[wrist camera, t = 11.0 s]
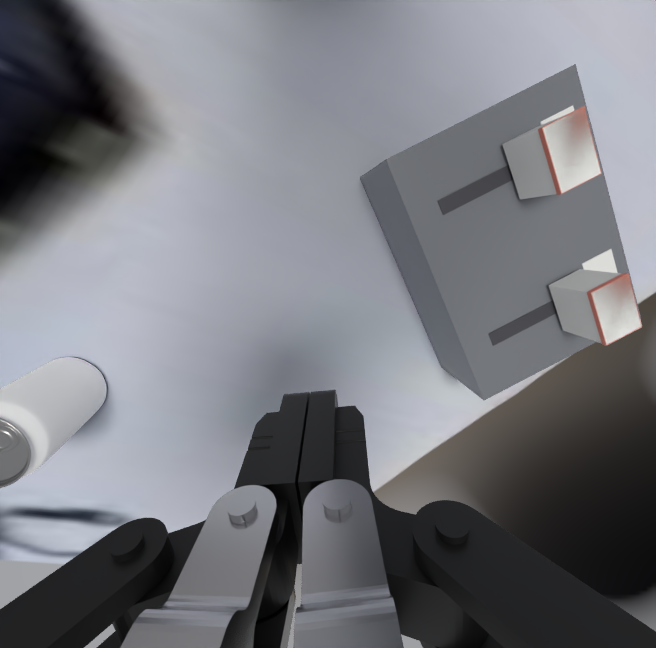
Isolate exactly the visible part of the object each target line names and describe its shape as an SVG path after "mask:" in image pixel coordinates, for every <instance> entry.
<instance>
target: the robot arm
mask: <svg viewBox="0 0 656 648" xmlns="http://www.w3.org/2000/svg"><path fill="white" fill-rule="evenodd" d="M297 564H302V587H301V606H300V607H297V609H296V613H295V623H294V647H293V648H404V647H403V642H402V637H401V634H402V635H405V636H408V637H411V638H414V639H416V640H419V641H420V642H421V644H422V646H423V648H656V632H655V631H654V630H652V629H651V628H649V627H648V626H647V625H645V624H644V623H642V622H641V621H639V620H638V619H636V618H634V617H633V616H632V615H630V614H629V613H627V612H626V611H624V610H623V609H621V608H620V607H618V606H617V605H615V604H614V603H613V602H611V601H610V600H608V599H607V598H605V597H603V596H602V595H601V594H599V593H598V592H596V591H595V590H593V589H592V588H590V587H588V586H587V585H586V584H584V583H583V582H581V581H580V580H578V579H577V578H576V577H574V576H573V575H571V574H570V573H568V572H566V571H565V570H564V569H562V568H561V567H559V566H558V565H556V564H555V563H553V562H552V561H550V560H549V559H547V558H546V557H544V556H543V555H541V554H540V553H538V552H537V551H536V550H534V549H533V548H531V547H530V546H528V545H526V544H525V543H524V542H522V541H521V540H519V539H518V538H516V537H515V536H513V535H512V534H510V533H509V532H507V531H506V530H504V529H503V528H501V527H500V526H499V525H497V524H496V523H494V522H493V521H491V520H489V519H488V518H487V517H485V516H483V515H482V514H481V513H479V512H478V511H476V510H475V509H473V508H471V507H470V506H468V505H465V504H463V503H460V502H455V501H448V500H442V501H435V502H432V503H429V504H427V505H425V506H424V507H422V508H421V509H420V510H419V511H418V512H417V514H416V515H414V514H410V513H405V512H401V511H397V510H395V509H392V508H390V507H388V506H386V505H385V504H383V503H382V502H381V501H379V500H378V498H377V497H376V496H375V495H374V493H373V492H372V489H371V486H370V479H369V469H368V459H367V448H366V438H365V428H364V418H363V415H362V414H361V413H360V411H359V410H358V409H357V408H356V407H355V406H346V407H338V402H337V394H336V390H329V391H317V392H311V393H309V392H306V393H294V394H284V396H283V399H282V403H281V407H280V411H279V412H273V413H266V414H265V416H264V417H263V418H262V419H261V420H260V421H259V422H258V423H257V424H256V426H255V429H254V432H253V435H252V440H251V441H250V444H249V447H248V451H247V453H246V455H245V458H244V461H243V464H242V467H241V470H240V473H239V476H238V479H237V482H236V485H235V488H234V490H231V491H230V492H228V493H226V494H225V495H224V496H222V497H221V498H220V499H219V500H218V501H217V502H216V503H215V504H214V506H213V507H212V509H211V511H210V513H209V515H208V517H207V519H206V520H205V521H203V522H200V523H198V524H195V525H192V526H189V527H186V528H183V529H180V530H177V531H174V532H171V533H168V532H167V529H166V527H165V525H164V524H163V522H161V521H160V520H158V519H155V518H141V519H137V520H133V521H130V522H128V523H126V524H124V525H122V526H120V527H118V528H117V529H115V530H114V531H112V532H111V533H109V534H108V535H106V536H105V537H103V538H102V539H101V540H99V541H98V542H96V543H95V544H93V545H92V546H91V547H89V548H88V549H86V550H85V551H83V552H82V553H81V554H79V555H78V556H76V557H75V558H73V559H72V560H70V561H69V562H68V563H66V564H65V565H63V566H62V567H61V568H59V569H58V570H56V571H55V572H53V573H52V574H50V575H49V576H48V577H46V578H45V579H43V580H42V581H40V582H39V583H37V584H36V585H35V586H33V587H32V588H30V589H29V590H28V591H26V592H25V593H23V594H22V595H20V596H19V597H17V598H16V599H15V600H13V601H12V602H10V603H9V604H8V605H6V606H4V607H3V608H2V609H0V648H84V647H85V646H86V645H88V644H89V643H90V642H91V641H92V640H93V639H95V637H97V636H98V635H99V634H100V633H101V632H103V631H104V630H105V629H106V628H107V627H108V626H110V625H111V624H113V626H114V628H115V630H116V631H115V632H114V633H113V634H112V635H111V636H109V637H108V638H107V639H106V640H105V641H104V642H103V643H101V645H99V646H98V647H97V648H287V646H288V640H289V635H290V629H291V623H292V618H293V612H294V607H295V599H296V595H295V589H294V585H295V577H296V568H297Z"/></svg>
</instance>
